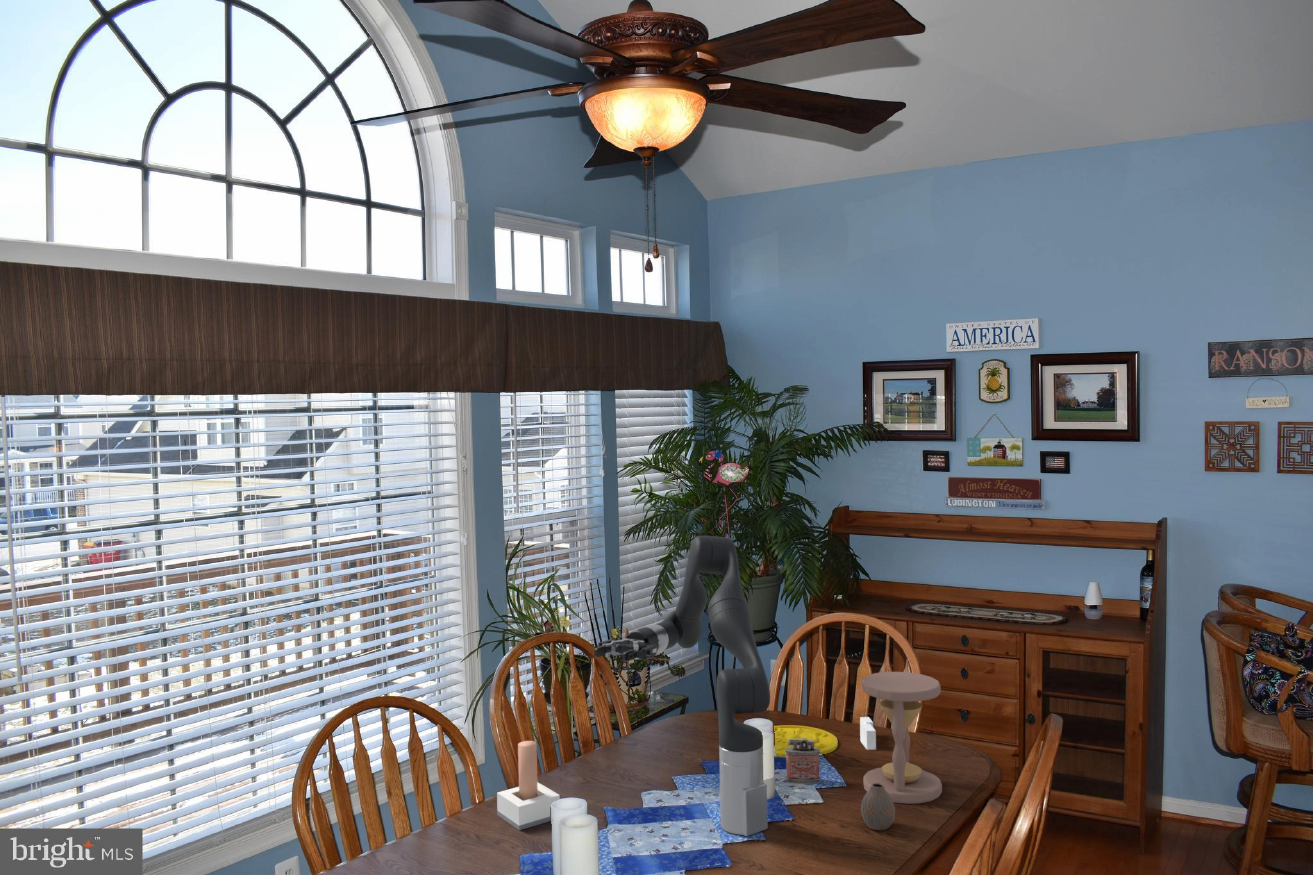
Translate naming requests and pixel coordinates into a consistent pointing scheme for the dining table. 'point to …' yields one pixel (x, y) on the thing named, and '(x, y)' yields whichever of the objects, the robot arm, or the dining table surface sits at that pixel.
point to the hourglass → (902, 735)
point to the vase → (878, 808)
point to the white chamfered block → (867, 733)
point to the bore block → (525, 807)
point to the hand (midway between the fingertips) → (609, 655)
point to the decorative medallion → (821, 738)
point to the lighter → (802, 762)
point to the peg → (527, 770)
